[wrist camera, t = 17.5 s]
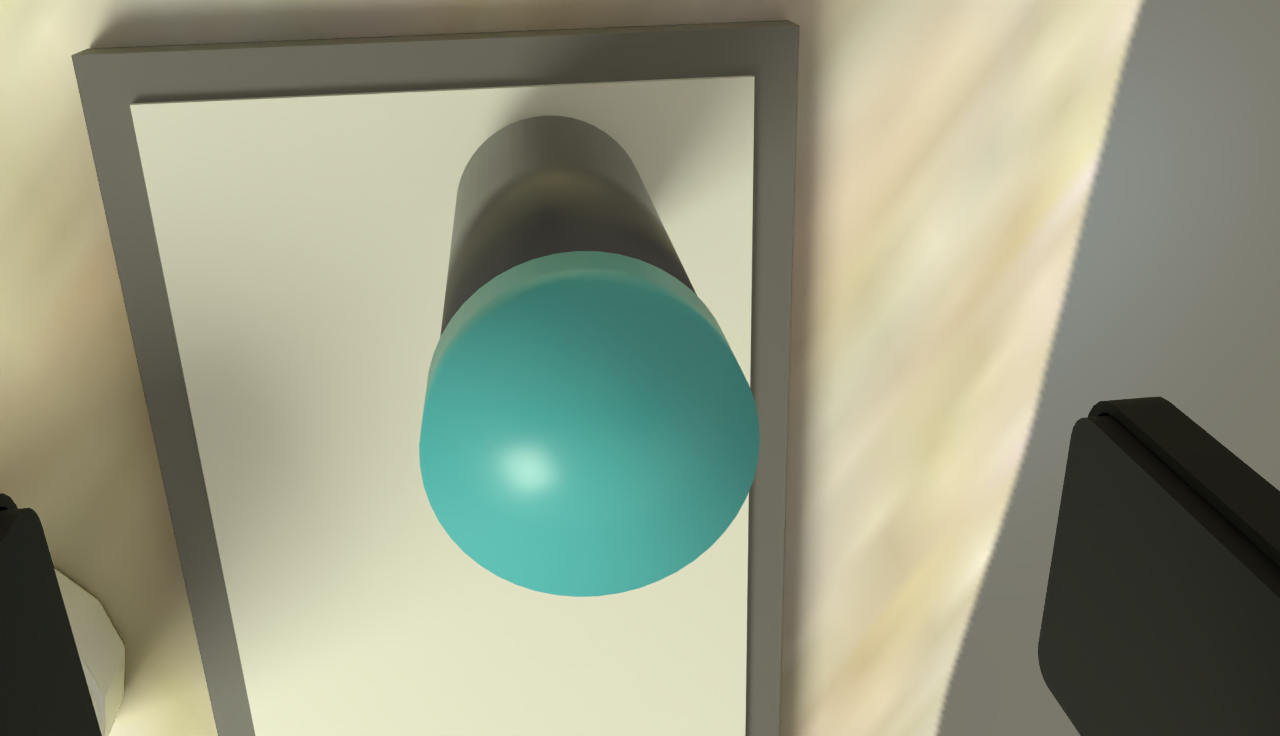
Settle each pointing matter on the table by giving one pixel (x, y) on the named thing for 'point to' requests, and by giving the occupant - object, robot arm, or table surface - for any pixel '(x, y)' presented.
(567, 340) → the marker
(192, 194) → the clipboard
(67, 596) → the white cup
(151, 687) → the table surface
